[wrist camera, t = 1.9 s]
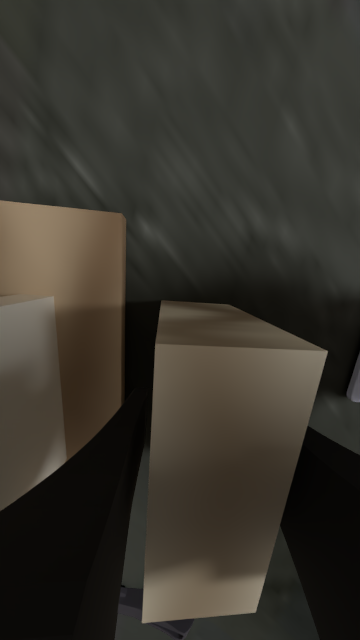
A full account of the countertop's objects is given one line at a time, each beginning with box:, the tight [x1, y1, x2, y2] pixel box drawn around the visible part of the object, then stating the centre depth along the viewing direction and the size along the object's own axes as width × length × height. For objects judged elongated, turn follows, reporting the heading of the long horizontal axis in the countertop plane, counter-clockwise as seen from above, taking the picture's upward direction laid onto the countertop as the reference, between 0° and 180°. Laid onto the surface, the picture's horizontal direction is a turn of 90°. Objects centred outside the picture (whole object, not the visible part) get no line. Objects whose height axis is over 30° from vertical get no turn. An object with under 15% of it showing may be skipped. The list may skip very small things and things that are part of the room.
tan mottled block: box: [142, 300, 328, 623], centre depth 9 cm, size 4×10×7 cm, turn 176°
